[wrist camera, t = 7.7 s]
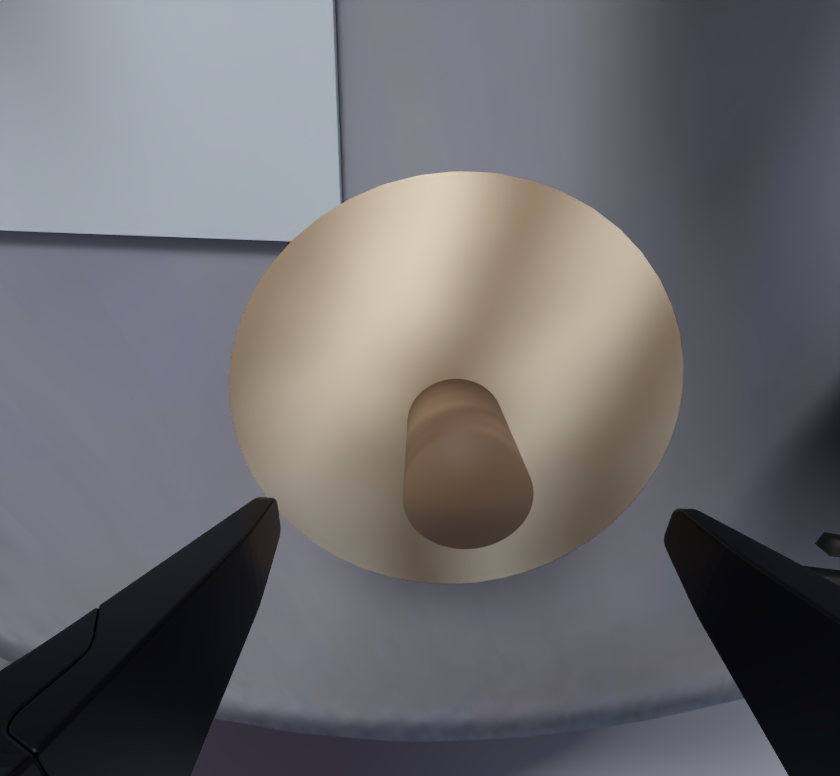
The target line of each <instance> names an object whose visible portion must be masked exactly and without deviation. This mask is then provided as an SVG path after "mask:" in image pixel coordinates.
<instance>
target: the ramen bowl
mask: <svg viewBox="0 0 840 776" xmlns="http://www.w3.org/2000/svg"><path fill="white" fill-rule="evenodd" d="M815 544H816V545H817V546H818V547H820V548H821V549H822V550H823V551H824V552H826V553H827V554H828V555H829V556H834V557H840V535H837V534H832V533H826V532H824V533H823V534H822V536H821V537H820V538H819V539H818V541H817V542H816V543H815ZM804 567H806V568H808V569H810V570H811V571H813V572H815V573H817V574H819V575H821V576H823V577H825V578H826V579H828V580H830V581H832V582H834V583H836V584H838V585H840V570H832V569H824V568H816V567H808V566H804Z"/></svg>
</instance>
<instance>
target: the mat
mask: <svg viewBox="0 0 840 776" xmlns="http://www.w3.org/2000/svg"><path fill="white" fill-rule="evenodd" d="M340 204H342V177H341V150H340V123H339V95H338V68H337V40H336V13H335V0H0V230H3V231H29V232H56V233H82V234H108V235H134V236H160V237H187V238H213V239H239V240H265V241H292V240H293V239H294V238H295V237H297V236H298V235H299V234H300V233H301V232H302V231H304V230H305V229H306V228H307V227H308V226H310V225H311V224H312V223H313V222H314V221H316V220H317V219H318V218H319V217H321V216H322V215H324V214H326V213H327V212H329V211H331V210H332V209H334V208H336V207H337V206H339V205H340Z"/></svg>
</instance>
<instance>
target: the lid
mask: <svg viewBox="0 0 840 776" xmlns="http://www.w3.org/2000/svg"><path fill="white" fill-rule="evenodd" d="M229 383H230V406H231V412H232V418H233V424H234V429H235V432H236V436H237V439H238V442H239V445H240V448H241V451H242V454H243V456H244V458H245V460H246V463H247V465H248V467H249V469H250V471H251V473H252V475H253V477H254V479H255V480H256V482H257V483H258V485H259V486H260V488H261V489H262V491H263V492H264V494H265V495H266V497H271V498H275V499H276V501H277V504H278V511H279V512H280V514H281V515H282V516H283V517H284V518H285V519H286V520H287V521H288V522H290V523H291V524H292V525H293V526H294V527H295V528H296V529H297V530H298V531H299V532H300V533H302V534H303V535H304V536H306V537H307V538H308V539H310V540H311V541H313V542H314V543H315V544H317V545H318V546H319V547H321V548H323V549H325V550H326V551H328V552H330V553H331V554H333V555H335V556H337V557H338V558H340V559H342V560H345V561H347V562H349V563H351V564H354V565H356V566H358V567H360V568H363V569H366V570H369V571H372V572H375V573H378V574H381V575H384V576H389V577H393V578H398V579H403V580H407V581H415V582H424V583H438V584H460V583H474V582H482V581H488V580H494V579H500V578H505V577H508V576H512V575H516V574H519V573H523V572H526V571H529V570H532V569H534V568H537V567H540V566H542V565H545V564H548V563H550V562H552V561H554V560H556V559H558V558H560V557H562V556H564V555H566V554H568V553H570V552H572V551H573V550H575V549H577V548H578V547H580V546H581V545H583V544H585V543H586V542H588V541H589V540H591V539H592V538H594V537H595V536H596V535H597V534H599V533H600V532H601V531H602V530H604V529H605V528H606V527H608V526H609V525H610V524H611V523H612V522H613V521H614V520H615V519H616V518H617V517H618V516H620V515H621V514H622V513H623V512H624V511H625V510H626V509H627V508H628V507H629V506H630V504H631V503H632V502H633V501H634V499H635V498H636V497H637V496H638V495H639V493H640V492H641V491H642V490H643V489H644V487H645V486H646V484H647V483H648V481H649V480H650V478H651V476H652V475H653V473H654V472H655V470H656V469H657V467H658V465H659V463H660V461H661V459H662V457H663V455H664V453H665V451H666V449H667V447H668V444H669V442H670V440H671V437H672V433H673V430H674V427H675V424H676V421H677V418H678V414H679V408H680V402H681V396H682V391H683V354H682V345H681V337H680V332H679V328H678V325H677V321H676V318H675V314H674V311H673V307H672V304H671V302H670V300H669V298H668V296H667V294H666V291H665V289H664V287H663V285H662V283H661V281H660V279H659V277H658V275H657V274H656V272H655V271H654V270H653V268H652V267H651V265H650V264H649V262H648V261H647V259H646V258H645V256H644V255H643V253H642V252H641V251H640V250H639V249H638V248H637V247H636V246H635V245H634V243H633V242H632V241H631V240H630V239H629V238H628V237H627V236H626V235H625V234H624V233H623V232H622V231H621V230H620V229H619V228H618V227H617V226H615V225H614V224H613V223H611V222H610V221H609V220H608V219H606V218H605V217H604V216H602V215H601V214H600V213H598V212H597V211H596V210H594V209H593V208H592V207H590V206H588V205H586V204H584V203H582V202H580V201H579V200H577V199H575V198H573V197H571V196H569V195H568V194H566V193H564V192H562V191H559V190H556V189H553V188H551V187H548V186H545V185H542V184H539V183H537V182H534V181H531V180H528V179H523V178H517V177H512V176H507V175H502V174H496V173H486V172H460V171H454V172H445V173H436V174H427V175H418V176H414V177H410V178H407V179H403V180H399V181H395V182H391V183H388V184H384V185H381V186H379V187H376V188H374V189H372V190H369V191H367V192H365V193H362V194H360V195H358V196H355V197H353V198H351V199H349V200H347V201H345V202H344V203H342V204H340V205H339V206H337V207H336V208H334V209H332V210H331V211H329V212H327V213H326V214H324V215H322V216H321V217H319V218H318V219H317V220H316V221H314V222H313V223H312V224H311V225H310V226H308V227H307V228H306V229H305V230H304V231H302V232H301V233H300V234H299V235H298V236H297V237H295V238H294V239H293V240H292V241H291V242H290V243H289V244H288V246H287V247H286V248H285V249H284V250H283V251H282V252H281V253H280V255H279V256H278V257H277V258H276V259H275V260H274V261H273V263H272V264H271V265H270V266H269V268H268V269H267V271H266V273H265V274H264V276H263V277H262V279H261V280H260V282H259V283H258V285H257V286H256V288H255V290H254V291H253V293H252V295H251V298H250V300H249V302H248V304H247V307H246V309H245V311H244V313H243V315H242V318H241V320H240V324H239V327H238V331H237V334H236V338H235V342H234V345H233V350H232V358H231V366H230V374H229Z"/></svg>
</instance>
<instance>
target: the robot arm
mask: <svg viewBox="0 0 840 776" xmlns="http://www.w3.org/2000/svg"><path fill="white" fill-rule="evenodd" d="M279 537H280V519H279V511H278V504H277V501H276V499H275V498H271V497H257V498H255V499H254V500H252V501H251V502H249V503H248V504H246V505H245V506H243V507H242V508H240V509H239V510H238V511H236V512H235V513H233V514H232V515H230V516H229V517H227V518H226V519H224V520H223V521H222V522H220V523H219V524H217V525H216V526H214V527H213V528H211V529H210V530H208V531H207V532H206V533H204V534H203V535H201V536H200V537H198V538H197V539H195V540H194V541H192V542H191V543H190V544H188V545H187V546H185V547H184V548H182V549H181V550H179V551H178V552H176V553H175V554H174V555H172V556H171V557H169V558H168V559H166V560H165V561H163V562H162V563H160V564H159V565H158V566H156V567H155V568H153V569H152V570H150V571H149V572H147V573H146V574H144V575H143V576H142V577H140V578H139V579H137V580H136V581H134V582H133V583H131V584H130V585H129V586H127V587H126V588H124V589H123V590H121V591H120V592H118V593H117V594H115V595H114V596H113V597H111V598H110V599H108V600H107V601H105V602H104V603H102V604H101V605H100V606H99V609H98V608H95V609H93V610H92V611H90V612H89V613H88V614H86V615H85V616H83V617H82V618H80V619H79V620H77V621H76V622H74V623H73V624H72V625H70V626H69V627H67V628H66V629H64V630H63V631H61V632H60V633H58V634H57V635H55V636H54V637H52V638H51V639H49V640H48V641H46V642H45V643H43V644H42V645H40V646H39V647H37V648H36V649H34V650H32V651H31V652H29V653H28V654H26V655H24V656H23V657H21V658H20V659H18V660H16V661H15V662H13V663H12V664H10V665H9V666H7V667H5V668H4V669H2V670H1V671H0V776H191V774H192V772H193V769H194V767H195V764H196V762H197V759H198V757H199V754H200V752H201V749H202V747H203V744H204V742H205V739H206V737H207V734H208V732H209V730H210V727H211V724H212V722H213V720H214V717H215V715H216V712H217V710H218V707H219V705H220V703H221V700H222V698H223V695H224V693H225V690H226V688H227V685H228V683H229V680H230V678H231V675H232V673H233V670H234V668H235V666H236V663H237V661H238V658H239V656H240V653H241V651H242V648H243V646H244V643H245V641H246V638H247V636H248V633H249V631H250V629H251V626H252V624H253V621H254V619H255V616H256V614H257V611H258V608H259V606H260V603H261V600H262V596H263V593H264V590H265V586H266V583H267V579H268V576H269V572H270V569H271V565H272V562H273V558H274V555H275V551H276V548H277V544H278V541H279ZM664 544H665V547H666V550H667V552H668V554H669V556H670V558H671V561H672V563H673V565H674V567H675V569H676V572H677V574H678V576H679V578H680V580H681V582H682V585H683V587H684V589H685V591H686V593H687V595H688V598H689V600H690V602H691V604H692V606H693V608H694V610H695V612H696V614H697V616H698V618H699V620H700V622H701V623H702V625H703V627H704V629H705V631H706V632H707V634H708V636H709V637H710V639H711V641H712V643H713V644H714V646H715V648H716V650H717V651H718V653H719V655H720V657H721V658H722V660H723V662H724V664H725V665H726V667H727V669H728V671H729V672H730V674H731V676H732V678H733V679H734V681H735V683H736V685H737V686H738V688H739V690H740V692H741V693H742V695H743V697H744V699H745V700H746V702H747V704H748V705H749V707H750V709H751V711H752V712H753V714H754V716H755V718H756V719H757V721H758V723H759V724H760V726H761V728H762V730H763V732H764V733H765V735H766V737H767V739H768V740H769V742H770V744H771V746H772V747H773V749H774V751H775V752H776V754H777V756H778V758H779V759H780V761H781V763H782V765H783V767H784V768H785V770H786V772H787V773H788V775H789V776H840V585H838V584H836V583H834V582H832V581H830V580H828V579H826V578H825V577H823V576H821V575H819V574H817V573H815V572H813V571H811V570H810V569H808V568H806V567H804V566H802V565H800V564H798V563H796V562H794V561H793V560H791V559H789V558H787V557H785V556H783V555H781V554H779V553H777V552H776V551H774V550H772V549H770V548H768V547H766V546H764V545H762V544H760V543H759V542H757V541H755V540H753V539H751V538H749V537H747V536H745V535H743V534H742V533H740V532H738V531H736V530H734V529H732V528H730V527H728V526H726V525H725V524H723V523H721V522H719V521H717V520H715V519H713V518H711V517H710V516H708V515H706V514H704V513H702V512H700V511H698V510H695V509H676V510H675V511H674V512H673V513H672V516H671V519H670V521H669V524H668V527H667V530H666V533H665V536H664Z"/></svg>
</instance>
